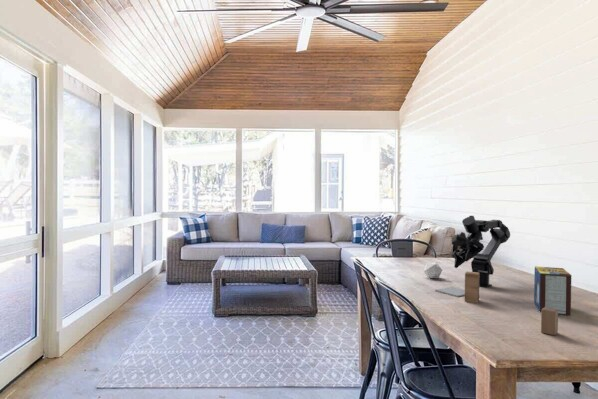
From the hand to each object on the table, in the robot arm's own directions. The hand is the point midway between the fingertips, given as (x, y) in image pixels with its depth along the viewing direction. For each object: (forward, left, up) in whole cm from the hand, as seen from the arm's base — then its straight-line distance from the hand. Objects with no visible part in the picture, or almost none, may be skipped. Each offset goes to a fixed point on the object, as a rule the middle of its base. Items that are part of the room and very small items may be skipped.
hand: (460, 264), depth 181 cm
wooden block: (+19, +48, -13) cm, 54 cm away
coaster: (+1, -2, -13) cm, 13 cm away
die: (-15, -28, -13) cm, 34 cm away
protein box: (-11, +34, -13) cm, 38 cm away
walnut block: (+7, +11, -13) cm, 19 cm away
